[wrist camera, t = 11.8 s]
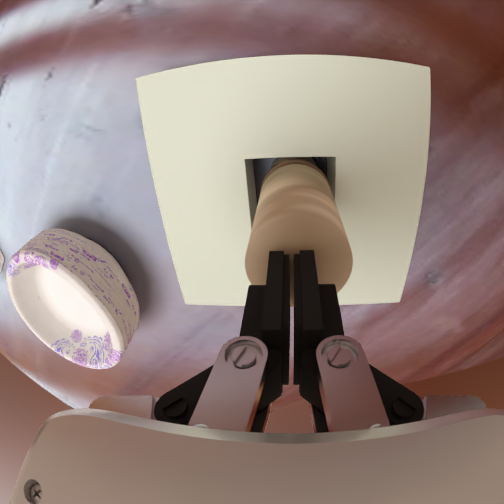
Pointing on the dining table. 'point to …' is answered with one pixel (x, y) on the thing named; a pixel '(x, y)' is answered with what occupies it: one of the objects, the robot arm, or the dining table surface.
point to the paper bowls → (74, 297)
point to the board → (287, 145)
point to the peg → (298, 224)
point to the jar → (1, 261)
